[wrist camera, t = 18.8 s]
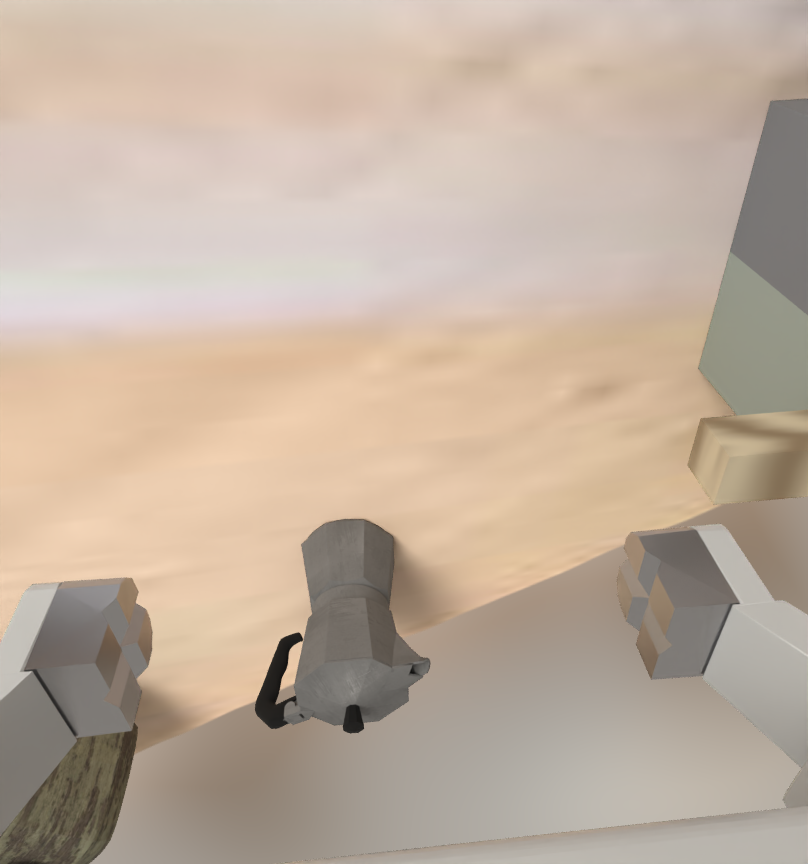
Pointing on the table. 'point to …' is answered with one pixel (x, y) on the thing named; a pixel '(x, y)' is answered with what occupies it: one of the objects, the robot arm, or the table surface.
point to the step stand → (767, 278)
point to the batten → (752, 456)
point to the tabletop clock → (73, 805)
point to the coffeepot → (345, 635)
